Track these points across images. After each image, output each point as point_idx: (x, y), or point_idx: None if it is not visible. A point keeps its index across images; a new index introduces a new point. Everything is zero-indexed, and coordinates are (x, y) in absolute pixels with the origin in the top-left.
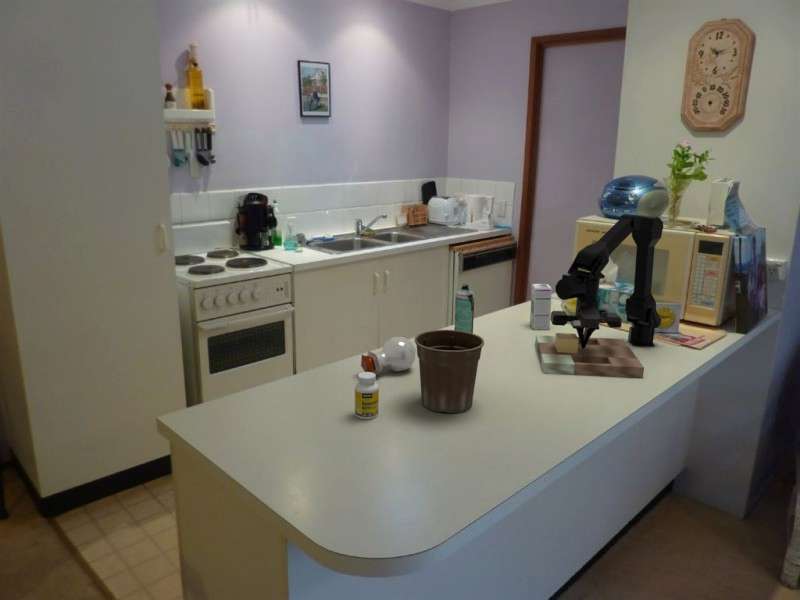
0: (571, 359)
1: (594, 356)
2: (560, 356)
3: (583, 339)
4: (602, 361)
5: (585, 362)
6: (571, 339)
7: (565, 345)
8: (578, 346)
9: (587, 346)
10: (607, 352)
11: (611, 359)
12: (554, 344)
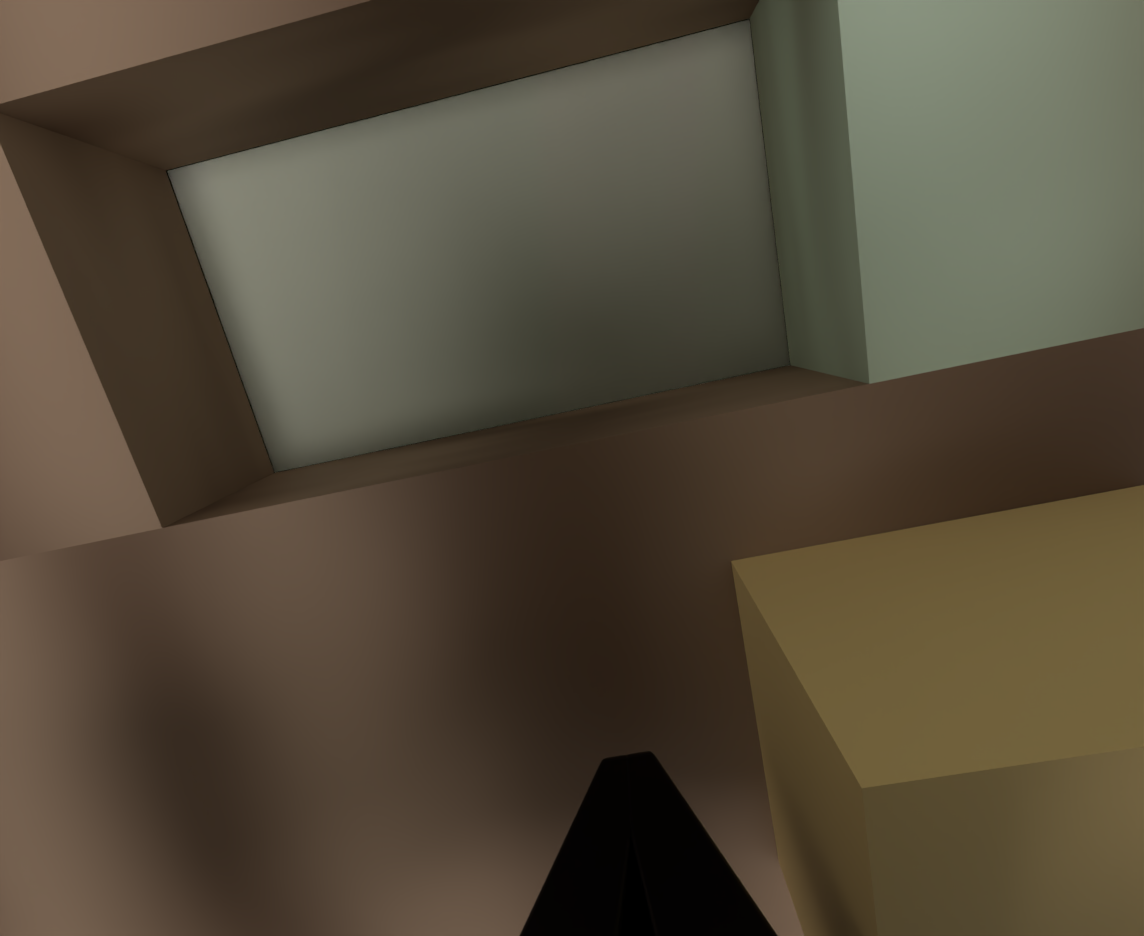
0: (869, 86)
1: (395, 478)
2: (1114, 214)
3: (662, 928)
4: (291, 482)
5: (561, 424)
6: (1127, 739)
7: (1114, 588)
8: None
9: None
10: (213, 757)
11: (65, 414)
12: None
